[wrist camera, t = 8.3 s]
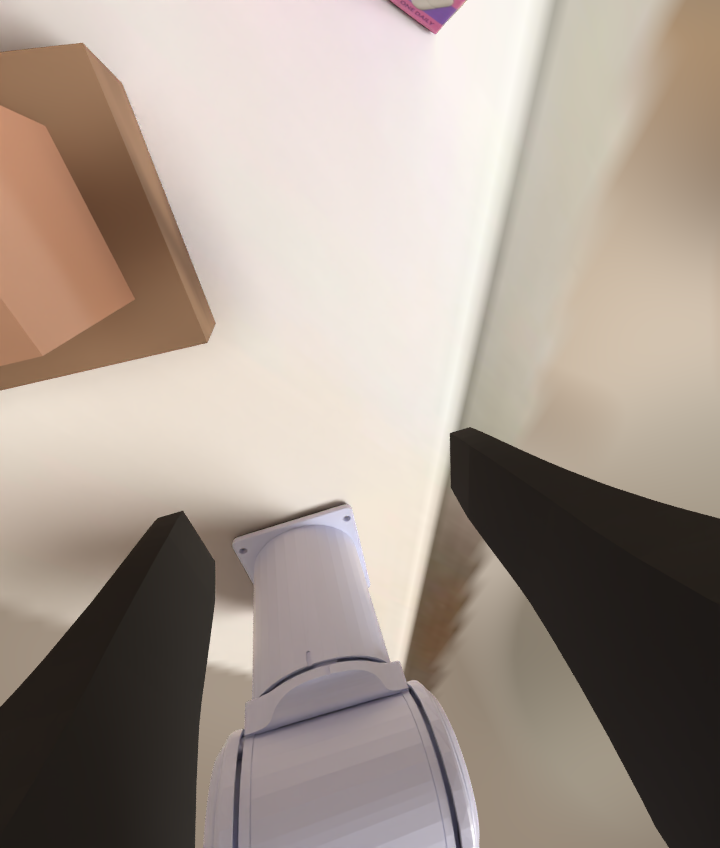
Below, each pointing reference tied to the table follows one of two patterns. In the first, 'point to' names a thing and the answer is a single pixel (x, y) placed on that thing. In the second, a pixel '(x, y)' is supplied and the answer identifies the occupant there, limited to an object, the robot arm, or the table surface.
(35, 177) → the peach cube
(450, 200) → the table surface
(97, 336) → the walnut slab
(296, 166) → the table surface
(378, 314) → the table surface
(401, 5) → the box
